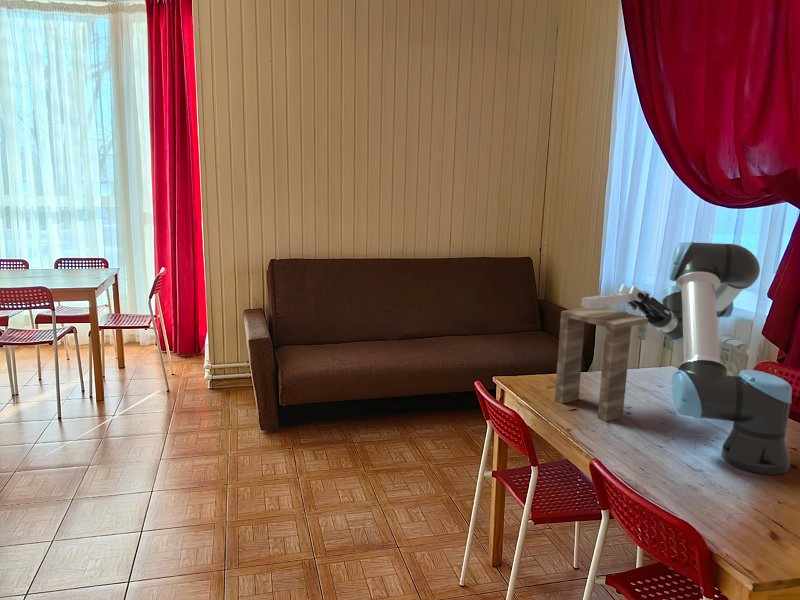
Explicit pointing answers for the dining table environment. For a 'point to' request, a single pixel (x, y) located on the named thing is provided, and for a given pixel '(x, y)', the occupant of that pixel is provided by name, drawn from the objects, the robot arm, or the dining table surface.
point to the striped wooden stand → (612, 356)
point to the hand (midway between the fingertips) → (626, 288)
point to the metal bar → (608, 299)
